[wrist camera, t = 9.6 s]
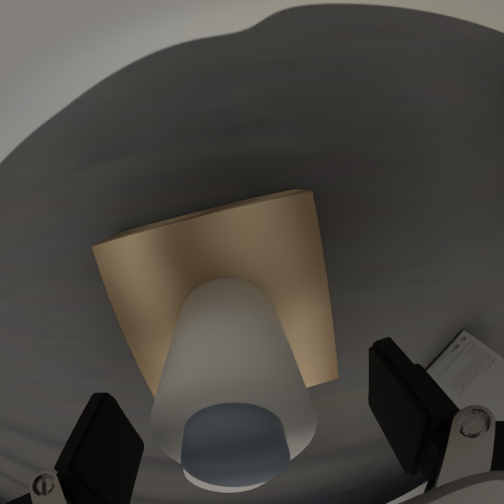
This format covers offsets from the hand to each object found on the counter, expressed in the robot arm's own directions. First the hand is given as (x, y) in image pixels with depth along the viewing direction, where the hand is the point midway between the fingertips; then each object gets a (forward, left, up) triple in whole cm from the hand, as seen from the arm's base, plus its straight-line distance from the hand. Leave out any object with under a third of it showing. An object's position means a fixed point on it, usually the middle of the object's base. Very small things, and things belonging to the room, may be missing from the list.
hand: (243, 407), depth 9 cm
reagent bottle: (0, 0, -7) cm, 7 cm away
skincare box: (-20, +15, -11) cm, 28 cm away
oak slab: (+1, 0, -11) cm, 11 cm away
